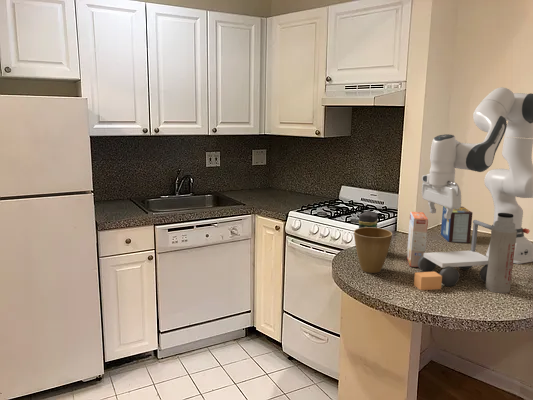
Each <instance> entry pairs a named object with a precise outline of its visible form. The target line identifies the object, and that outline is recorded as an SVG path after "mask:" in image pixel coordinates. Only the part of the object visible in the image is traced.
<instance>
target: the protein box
mask: <svg viewBox="0 0 533 400" xmlns="http://www.w3.org/2000/svg"><path fill="white" fill-rule="evenodd" d="M446 211H447V210H446V207H444V206H442V214H441V225H440V227H441V228H440V235H441V236H442V237H443V238H444V240H446V242H448V243H464V244H470V243H471V236H472V235H471V233H472V225H473V224H472V223H473V212H472V211H470V210H469V209H467V208H466V207H465V206H461V207H460V208H459V209H453V212H452V214H451V218H450V219H445V218H444V214H446Z"/></svg>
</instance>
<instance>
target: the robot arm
mask: <svg viewBox="0 0 533 400" xmlns="http://www.w3.org/2000/svg"><path fill="white" fill-rule="evenodd" d="M472 118H473V123H474V124H475V126H476V127H477V128H478V129H479V130H480V131H482V132H484V133H487V134H486V135H485V137H484V139H483V141H482V142H478V143H469V142H467V143H466V142H461V141H458V140H457V139H456V136H455V135H454V134H450V133H449V134H445V133H444V134H439V135H436V136H435V137H433V139H432V141H431V147H430V152H429V153H430V155H429V161H430V168H429V173H427V174H423V175H422V176H421V181H422V183H421V185H422V186H421V197H422V199H423V200H425V201H427V203H428V207H429V213H430V214H436V213H437V208H436V206H435V204H437V205H439V206H442V207H443V206H444V207H446V210H447V211H446V214H444V218H445V219H450V218H451V214H452V212H453V209H459V208H460V207H462V193H461V189H460V186H459V184H458V183H457V182H455V180H456V179H455V178H456V177H455V176H456V169H457V170H458V169H459V170H467V171H468V170H469V171H472V172H477V173H483V172H485V171H487V170H488V169H489V168H490V167H492V165H493V162H494V159H495V156H496V152H497V151H498V148H499V146H500V144H501V143H502V140H503V143H502V144H503V145H502V151H501V155H502V157H503V159H504V160H505V161H506V162H507V164H508V168H509V169H508V168H494V169H490V170H489V171H487V173H486V174H485V176H484V178H483V179H484V180H483V181H484V185H485V188H486V189H487V190H488V191H489V193H490V195H491V198H492V201H493V208H494V209H493V211H494V212H493V222H492V223H493V224H492V226H494V223H495V222H496V221H497V220H498V213H509V214H513V223H514V224H515V230H517V235H516V243H515V251H514V260H513V264H515V265H516V264H518V265H519V264H525V263H531V262H533V242H532V241H530V240H529V239H528V238H527V237H526V236H525V234H526V235H528V234H529V233H530V231H531V230H530V229H529V228H523V227H522V224H523V217H524V211H523V210H524V209H523V208H522V207H521V206H520V205H519V203H518V201H517V199H516V198H520V199H533V158H532V155H533V93H532V92H531V93H530V92H529V93H521V92H520V93H519V92H513V91H512V90H511V89H510V88H507V87H503V86H502V87H497V88H494V89H493V90H492V91H490V92H489V93H488V94H487V95H486V96H485V97H484V98H483V99H482V100H481V101H480V103H479V104H478V105H477V106H476V108H475V109H474V111H473V115H472ZM491 231H492V230H490V232H491ZM489 249H490V244H488V248H487V250H486V253H485V256H487V257H489Z"/></svg>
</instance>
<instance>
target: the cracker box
mask: <svg viewBox="0 0 533 400" xmlns="http://www.w3.org/2000/svg"><path fill="white" fill-rule="evenodd" d="M409 213H410V214H409V223H408V236H407V237H408V238H407V245H406V246H407V248H406V259H407V263H408V265H409V267H412V268H414V267H415V268H419V267H418V260H419V259H420V257H421V256H423V255H424V253H426V246H427V235H428V226H429V225H428V224H429V218H428V217H427V216H426V214H425V213H424V212H422V211H410V212H409Z"/></svg>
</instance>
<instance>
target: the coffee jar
mask: <svg viewBox="0 0 533 400" xmlns="http://www.w3.org/2000/svg"><path fill="white" fill-rule="evenodd" d="M378 219H379V218H378V213H376V212H375V211H369V210H367V211H365V212H362V213H361V214H359V215H358V228H365V227H373V228H378Z"/></svg>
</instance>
